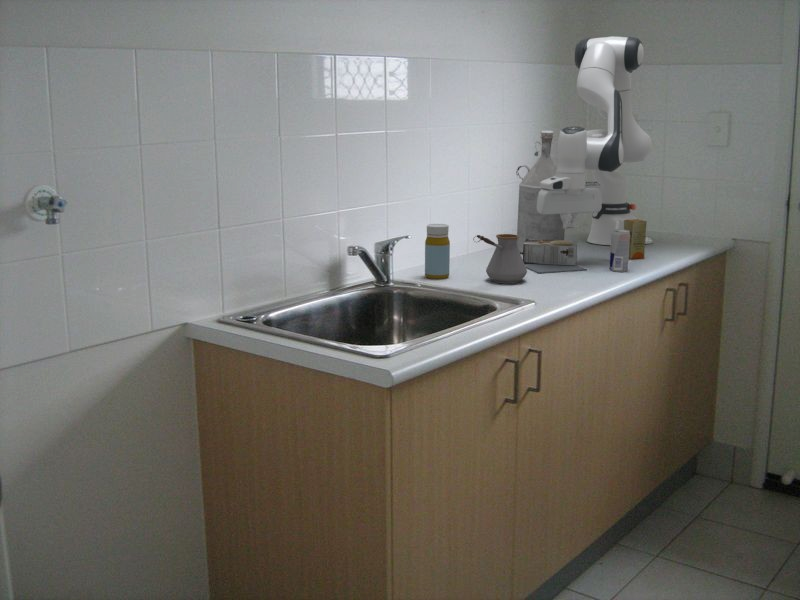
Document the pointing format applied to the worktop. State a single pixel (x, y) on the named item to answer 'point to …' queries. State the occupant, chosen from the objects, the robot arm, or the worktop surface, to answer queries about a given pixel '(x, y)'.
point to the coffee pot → (505, 260)
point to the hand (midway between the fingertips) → (568, 228)
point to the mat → (553, 268)
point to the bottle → (437, 251)
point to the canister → (528, 216)
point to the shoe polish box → (636, 237)
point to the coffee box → (550, 252)
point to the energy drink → (619, 250)
